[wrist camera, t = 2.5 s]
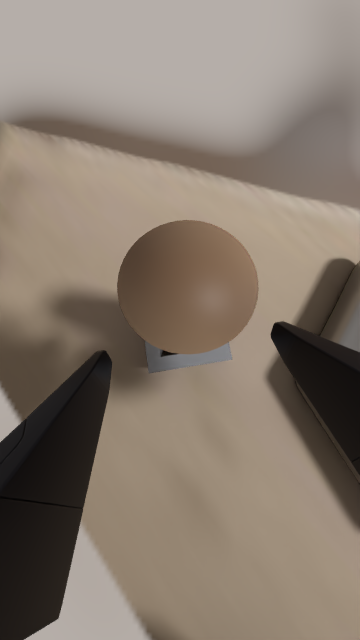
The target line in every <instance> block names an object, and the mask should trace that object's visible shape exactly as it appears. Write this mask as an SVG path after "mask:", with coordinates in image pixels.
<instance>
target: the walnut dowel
mask: <svg viewBox="0 0 360 640" xmlns="http://www.w3.org/2000/svg"><path fill="white" fill-rule="evenodd" d="M117 290H118V299H119V303H120V307H121V310H122V312H123V314H124V317H125V319H126V320H127V322H128V323H129V325H130V326H131V327H132V329H133V330H134V331H135V332H136V333H137V334H138V335H139V336H140V337H141V338H142V339H144V340H145V341H147V342H148V343H150V344H151V345H153V346H155V347H157V348H159V349H162V350H165V351H168V352H172V353H177V354H200V353H204V352H209V351H211V350H214V349H217V348H219V347H221V346H223V345H225V344H227V343H228V342H229V341H231V340H232V339H234V338H235V337H236V336H237V335H238V334H239V333H240V332H241V331H242V330H243V329H244V327H245V326H246V325H247V323H248V322H249V320H250V318H251V316H252V314H253V312H254V309H255V306H256V302H257V298H258V278H257V272H256V269H255V266H254V263H253V261H252V259H251V257H250V255H249V253H248V252H247V250H246V249H245V248H244V246H243V245H242V244H241V243H240V242H239V241H238V240H237V239H236V238H235V237H234V236H232V235H231V234H230V233H228V232H227V231H225V230H223V229H221V228H220V227H217V226H215V225H212V224H209V223H205V222H201V221H192V220H183V221H175V222H170V223H166V224H163V225H160V226H158V227H156V228H154V229H152V230H151V231H149V232H147V233H146V234H144V235H143V236H142V237H141V238H139V239H138V240H137V241H136V242H135V243H134V245H133V246H132V247H131V248H130V250H129V251H128V253H127V254H126V256H125V258H124V260H123V262H122V265H121V267H120V271H119V275H118V283H117Z"/></svg>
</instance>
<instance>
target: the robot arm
mask: <svg viewBox="0 0 360 640" xmlns="http://www.w3.org/2000/svg"><path fill="white" fill-rule="evenodd" d="M271 339H272V341H273V342H274V344H275V346H276V348H277V350H278V352H279V354H280V356H281V358H282V359H283V361H284V363H285V365H286V366H287V368H288V369H289V371H290V372H291V374H292V375H293V377H294V378H295V380H296V381H297V383H298V384H299V386H300V387H301V389H302V390H303V392H304V393H305V395H306V396H307V398H308V399H309V401H310V402H311V404H312V405H313V407H314V408H315V409H316V411H317V412H318V414H319V415H320V417H321V418H322V420H323V421H324V423H325V424H326V426H327V427H328V429H329V430H330V432H331V433H332V435H333V436H334V438H335V439H336V441H337V442H338V444H339V445H340V447H341V448H342V450H343V451H344V453H345V454H346V456H347V457H348V459H349V460H350V461H351V463H352V465H353V466H354V468H355V469H356V471H357V472H358V474H359V475H360V352H358V351H355V350H353V349H350V348H348V347H345V346H343V345H341V344H338V343H336V342H333V341H331V340H328V339H326V338H323V337H321V336H318V335H316V334H313V333H311V332H308V331H306V330H303V329H301V328H298V327H296V326H294V325H291V324H289V323H286V322H283V321H282V322H276V323H274V325H273V328H272V331H271ZM111 370H112V361H111V359H110V357H109V355H108V354H107V352H106V351H105V350H103V351H97V352H96V353H94V354H93V355H92V356H91V357H90V358H89V359H88V360H87V361H86V362H85V363H84V364H83V365H82V366H81V367H80V368H79V369H78V370H77V371H75V372H74V373H73V374H72V375H71V376H70V377H69V378H68V379H67V380H66V381H65V382H64V383H63V384H62V385H61V386H60V387H59V388H58V389H56V390H55V391H54V392H53V393H52V394H51V395H50V396H49V397H48V398H47V399H46V400H45V401H44V402H43V403H42V404H41V405H40V406H39V407H37V408H36V409H35V410H34V411H33V412H32V413H31V414H30V415H29V416H28V417H27V419H25V420H24V421H23V422H22V423H21V424H20V425H18V426H17V427H16V428H15V429H14V430H13V431H12V432H11V433H10V434H9V435H8V436H7V437H6V438H4V439H3V440H2V441H1V442H0V640H24V639H26V638H27V637H29V636H31V635H32V634H34V633H36V632H37V631H39V630H41V629H42V628H44V627H45V626H47V625H49V624H50V623H52V622H54V621H55V620H57V619H58V618H59V614H60V610H61V606H62V603H63V598H64V593H65V589H66V585H67V580H68V576H69V571H70V567H71V562H72V558H73V553H74V549H75V544H76V540H77V535H78V531H79V526H80V522H81V517H82V512H83V507H84V503H85V498H86V494H87V489H88V485H89V480H90V476H91V471H92V467H93V462H94V458H95V453H96V449H97V444H98V440H99V435H100V431H101V426H102V422H103V417H104V413H105V408H106V404H107V399H108V394H109V388H110V379H111Z"/></svg>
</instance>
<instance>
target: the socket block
mask: <svg viewBox="0 0 360 640" xmlns="http://www.w3.org/2000/svg"><path fill="white" fill-rule="evenodd" d="M145 347H146V355H147V363H148V371H149V373H154V372H160V371H166V370H172V369H178V368H184V367H190V366H196V365H202V364H208V363H214V362H220V361H226V360H232V355H231V351H230V346H229V342H228V343H227V344H225V345H223V346H221V347H219V348H217V349H214V350H211V351H209V352H204V353H200V354H177V353H174V354H168V355H164V354H163V350H162V349H159V348H157V347H155V346H153V345H151V344H150V343H148V342H147V341H145Z"/></svg>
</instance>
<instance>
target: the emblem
mask: <svg viewBox="0 0 360 640" xmlns="http://www.w3.org/2000/svg"><path fill="white" fill-rule="evenodd" d="M320 336H321V337H323V338H326V339H328V340H331V341H333V342H336V343H338V344H341V345H343V346H345V347H348V348H350V349H353V350H355V351H358V352H360V261H359V262H358V264H357V265H356V266H355V268H354V269H353V271H352V273H351V275H350V277H349V279H348V281H347V283H346V285H345V287H344V289H343V292H342V294H341V296H340V298H339V300H338V302H337V304H336V306H335V308H334V310H333V312H332V314H331V315H330V317H329V319H328V321H327V323H326V325H325V327H324V329H323V331H322V333H321V335H320ZM296 384H297V387H298V388H299V390H300V392H301V393H302V395H303V397H304V398H305V400H306V401H307V403H308V405H309V406H310V408H311V409H312V411H313V412H314V414H315V415H316V417H317V419H318V420H319V422H320V423H321V425H322V426H323V428H324V429H325V431H326V433H327V434H328V436H329V437H330V439H331V440H332V442H333V443H334V445H335V447H336V448H337V450H338V451H339V453H340V454H341V456H342V457H343V459H344V461H345V462H346V464H347V465H348V467H349V468H350V470H351V471H352V473H353V474H354V476H355V477H356V479H357V480H358V482H359V484H360V475H359V474H358V472H357V471H356V469H355V468H354V466H353V465H352V463H351V461H350V460H349V459H348V457H347V456H346V454H345V453H344V451H343V450H342V448H341V447H340V445H339V444H338V442H337V441H336V439H335V438H334V436H333V435H332V433H331V432H330V430H329V429H328V427H327V426H326V424H325V423H324V421H323V420H322V418H321V417H320V415H319V414H318V412H317V411H316V409H315V408H314V407H313V405H312V404H311V402H310V401H309V399H308V398H307V396H306V395H305V393H304V392H303V390H302V389H301V387H300V386H299V384H298V383H297V381H296Z"/></svg>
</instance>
